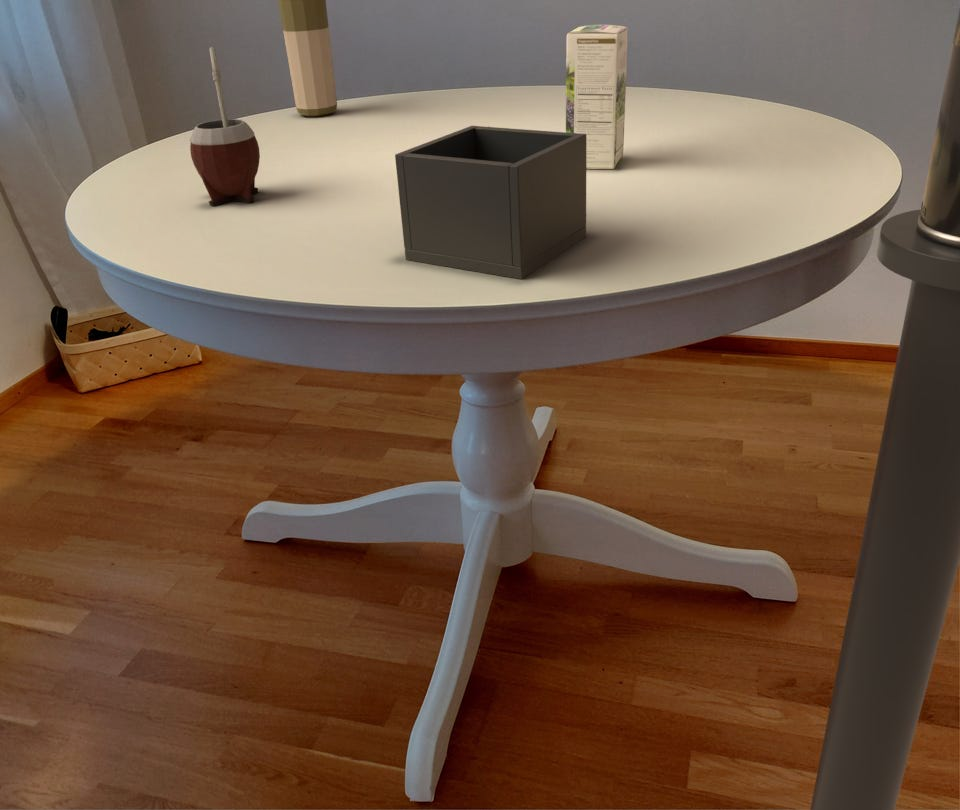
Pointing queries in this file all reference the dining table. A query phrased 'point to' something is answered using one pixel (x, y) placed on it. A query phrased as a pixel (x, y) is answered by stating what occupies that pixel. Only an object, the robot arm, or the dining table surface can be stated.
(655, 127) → the dining table surface
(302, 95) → the bottle
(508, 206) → the waste bin
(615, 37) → the syrup box
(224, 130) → the mate gourd
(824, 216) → the dining table surface
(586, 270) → the dining table surface
